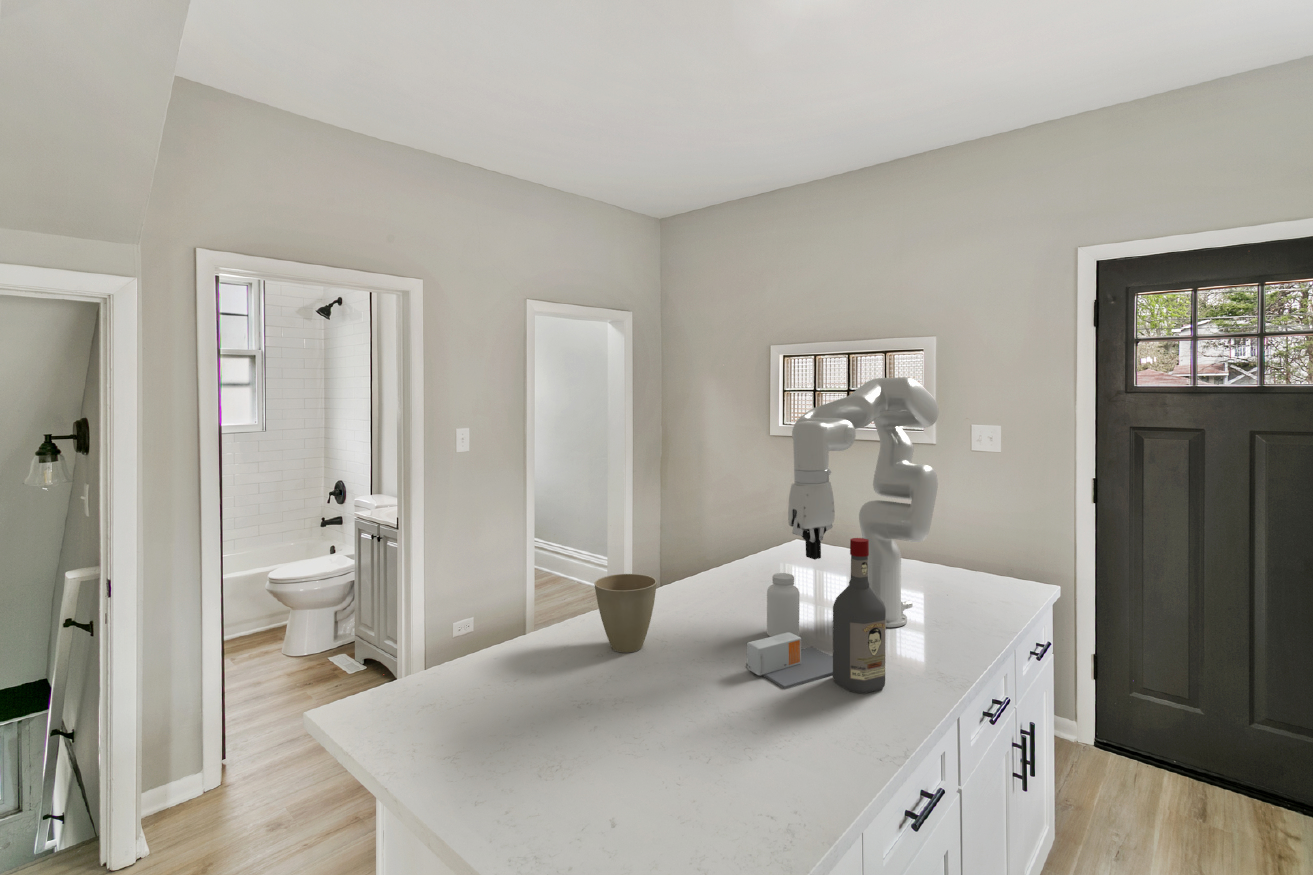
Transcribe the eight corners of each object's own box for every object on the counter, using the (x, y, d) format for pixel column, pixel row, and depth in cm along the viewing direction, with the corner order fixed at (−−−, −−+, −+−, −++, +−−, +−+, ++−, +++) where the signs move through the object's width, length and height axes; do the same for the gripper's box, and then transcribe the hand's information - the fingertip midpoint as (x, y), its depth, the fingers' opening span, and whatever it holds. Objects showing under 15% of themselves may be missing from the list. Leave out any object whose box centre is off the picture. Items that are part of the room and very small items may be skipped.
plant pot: (670, 645, 154) (669, 580, 153) (626, 664, 143) (625, 595, 142) (627, 630, 164) (626, 569, 163) (582, 647, 153) (581, 582, 152)
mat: (812, 648, 150) (812, 646, 150) (853, 668, 139) (853, 666, 139) (746, 665, 142) (746, 663, 141) (784, 688, 130) (784, 686, 130)
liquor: (826, 678, 135) (826, 537, 133) (861, 670, 138) (861, 533, 136) (856, 696, 126) (856, 546, 124) (892, 687, 130) (893, 541, 128)
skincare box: (802, 663, 141) (758, 676, 135) (789, 657, 144) (746, 669, 139) (802, 637, 140) (758, 648, 134) (789, 630, 144) (746, 642, 138)
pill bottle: (799, 641, 155) (799, 580, 154) (766, 639, 157) (766, 579, 156) (799, 629, 163) (799, 571, 162) (767, 628, 164) (766, 570, 163)
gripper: (825, 471, 149) (826, 548, 151) (774, 478, 142) (776, 559, 144) (848, 475, 142) (850, 555, 144) (796, 482, 135) (798, 567, 137)
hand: (813, 557), depth 144 cm, fingers closed
